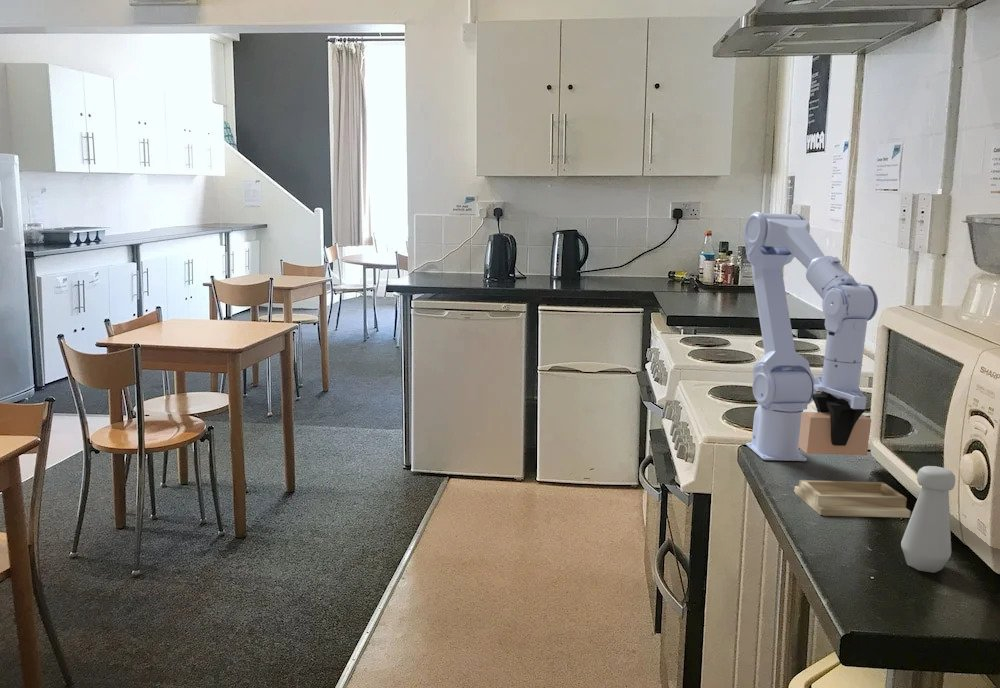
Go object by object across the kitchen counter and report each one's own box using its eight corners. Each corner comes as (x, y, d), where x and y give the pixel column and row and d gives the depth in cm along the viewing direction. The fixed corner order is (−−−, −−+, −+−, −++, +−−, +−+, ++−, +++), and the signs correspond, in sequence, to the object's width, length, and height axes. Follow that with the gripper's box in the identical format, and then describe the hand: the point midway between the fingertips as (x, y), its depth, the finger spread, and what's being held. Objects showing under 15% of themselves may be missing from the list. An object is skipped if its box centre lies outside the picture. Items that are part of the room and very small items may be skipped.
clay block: (798, 447, 145) (802, 411, 144) (856, 448, 146) (861, 413, 144) (806, 453, 141) (810, 417, 140) (866, 455, 142) (871, 419, 141)
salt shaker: (897, 568, 112) (910, 470, 109) (900, 552, 117) (912, 458, 114) (948, 579, 109) (962, 479, 107) (949, 563, 114) (963, 467, 112)
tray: (794, 492, 139) (795, 477, 139) (877, 494, 140) (879, 479, 139) (820, 515, 129) (822, 499, 129) (909, 517, 130) (911, 501, 130)
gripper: (800, 350, 148) (792, 428, 150) (838, 368, 133) (828, 454, 136) (841, 351, 148) (832, 429, 151) (883, 369, 134) (872, 455, 136)
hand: (833, 441), depth 143 cm, fingers closed on clay block, 3 cm apart
